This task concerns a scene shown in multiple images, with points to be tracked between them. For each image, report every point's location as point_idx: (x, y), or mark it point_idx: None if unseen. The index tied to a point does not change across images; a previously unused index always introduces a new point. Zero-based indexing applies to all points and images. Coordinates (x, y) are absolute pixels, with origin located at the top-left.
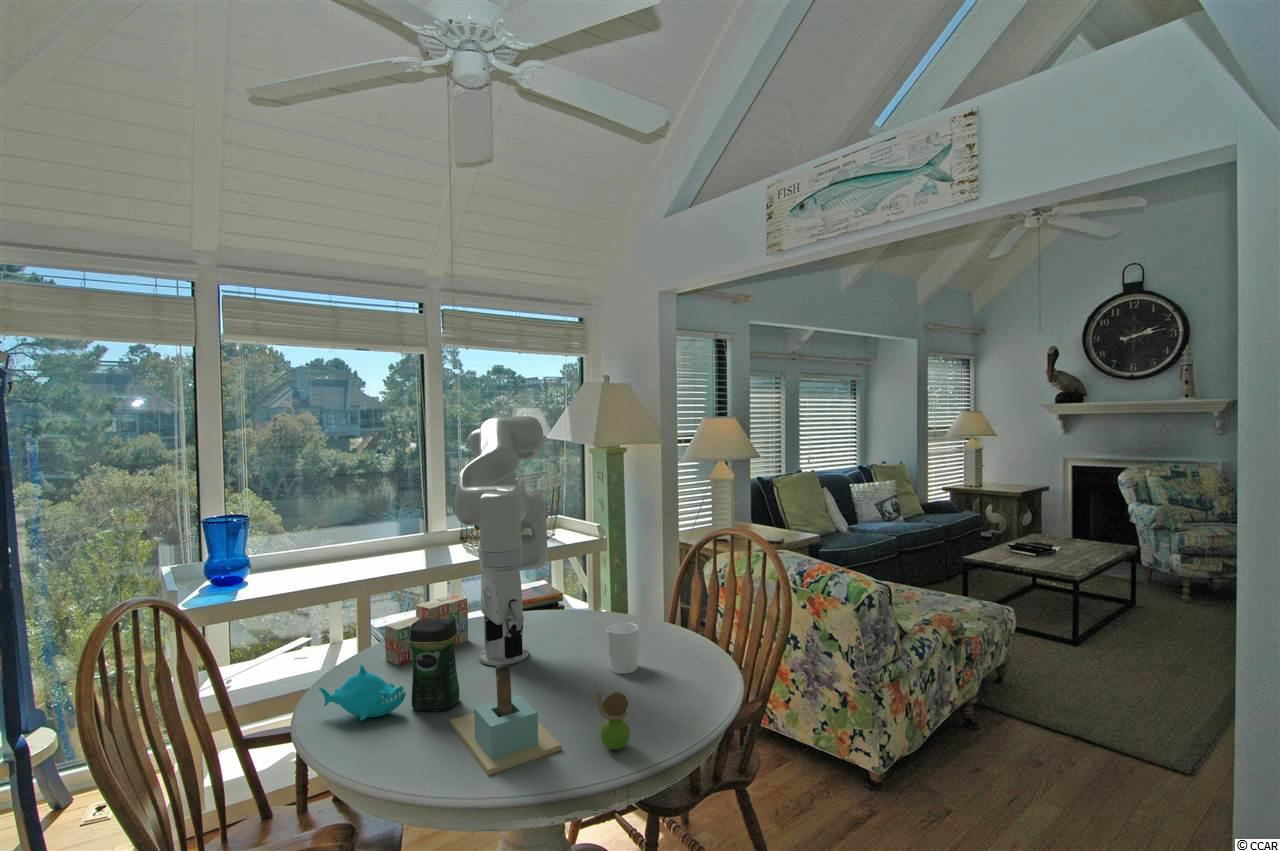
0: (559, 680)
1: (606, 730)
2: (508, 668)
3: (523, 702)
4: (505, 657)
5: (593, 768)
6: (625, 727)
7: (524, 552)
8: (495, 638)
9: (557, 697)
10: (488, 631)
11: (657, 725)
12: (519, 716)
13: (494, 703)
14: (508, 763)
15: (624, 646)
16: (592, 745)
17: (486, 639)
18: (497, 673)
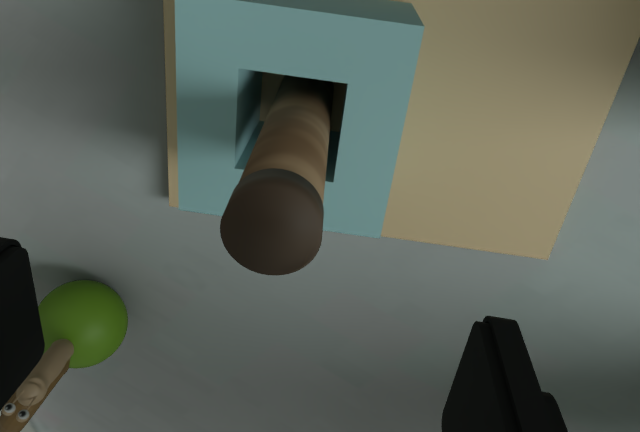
0: (566, 414)
1: (54, 310)
2: (225, 244)
3: None
4: (7, 238)
5: (35, 204)
6: None
7: None
8: (457, 380)
9: None
10: (492, 399)
11: (143, 411)
12: (191, 141)
13: (386, 124)
14: (165, 18)
15: None
16: (148, 267)
17: (509, 323)
18: (261, 174)
